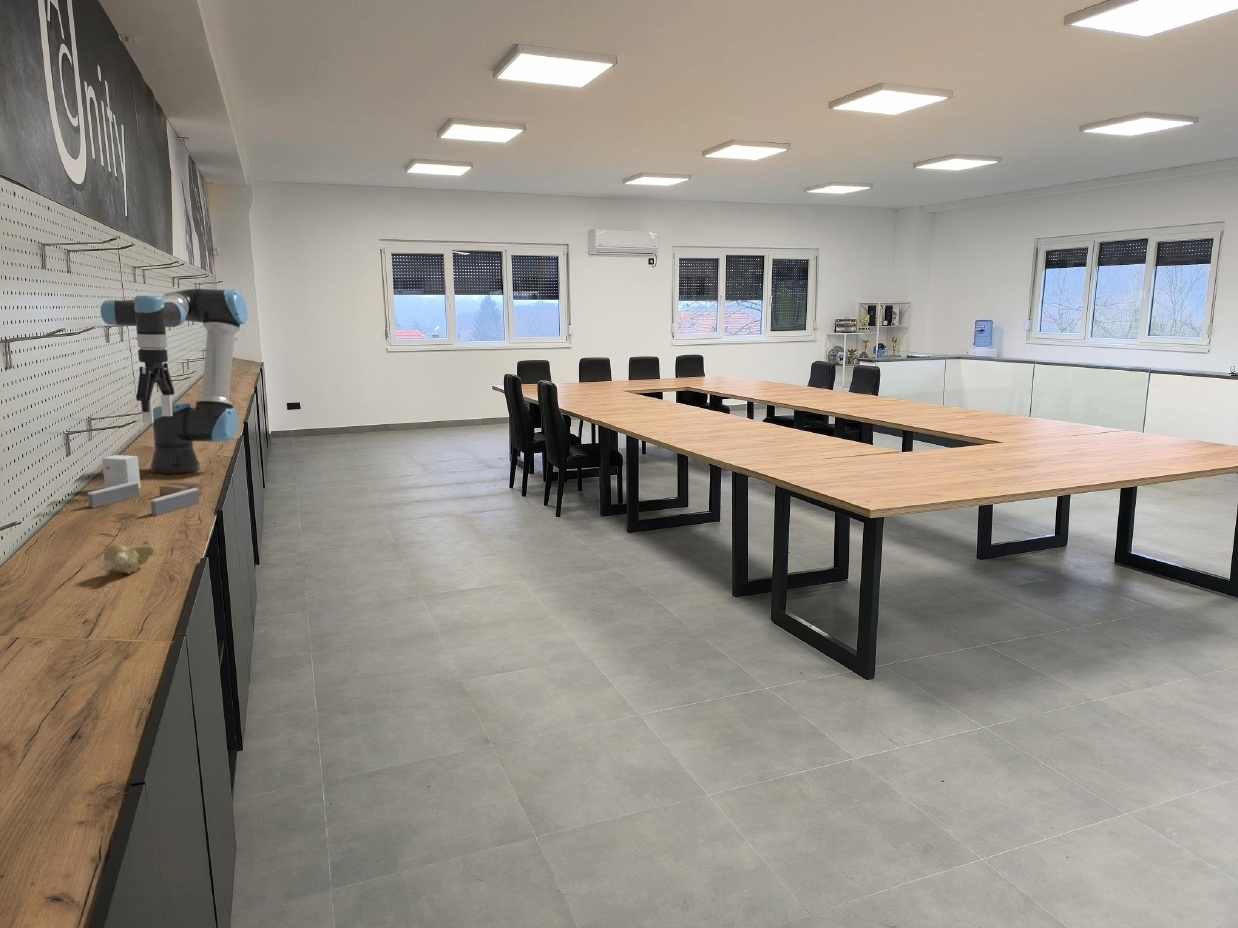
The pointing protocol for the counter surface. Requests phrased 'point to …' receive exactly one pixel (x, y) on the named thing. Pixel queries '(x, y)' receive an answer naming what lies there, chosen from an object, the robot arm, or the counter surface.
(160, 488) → the walnut block
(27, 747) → the counter surface
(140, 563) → the beige lumpy piece
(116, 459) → the small box
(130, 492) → the corridor walls
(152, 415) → the robot arm
